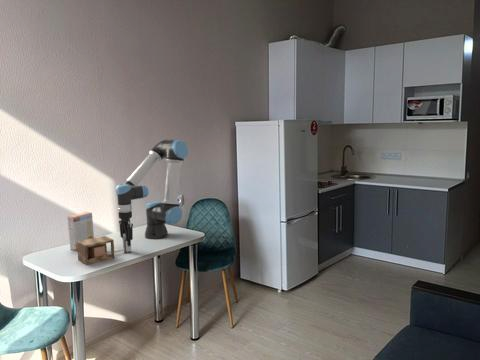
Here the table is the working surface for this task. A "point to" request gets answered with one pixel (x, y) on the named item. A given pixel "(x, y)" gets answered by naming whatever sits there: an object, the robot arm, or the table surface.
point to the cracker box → (80, 228)
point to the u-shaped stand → (100, 249)
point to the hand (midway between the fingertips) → (127, 250)
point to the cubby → (85, 245)
